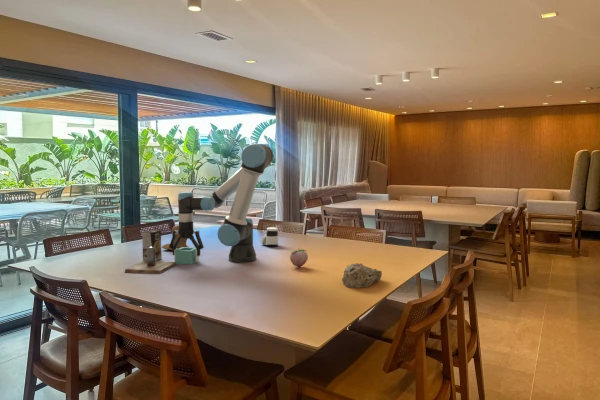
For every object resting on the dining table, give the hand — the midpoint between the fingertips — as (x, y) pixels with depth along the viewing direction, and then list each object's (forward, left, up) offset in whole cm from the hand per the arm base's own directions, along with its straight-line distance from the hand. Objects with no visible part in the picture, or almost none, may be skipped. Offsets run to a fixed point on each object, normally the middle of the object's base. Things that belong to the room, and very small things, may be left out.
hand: (186, 261), depth 227 cm
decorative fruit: (-61, +4, 0) cm, 61 cm away
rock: (-93, +28, -1) cm, 97 cm away
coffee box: (+20, -1, 0) cm, 20 cm away
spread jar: (-35, -51, 0) cm, 62 cm away
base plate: (+12, +16, 0) cm, 20 cm away
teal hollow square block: (0, 0, 0) cm, 0 cm away
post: (+12, +16, 0) cm, 20 cm away
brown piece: (+18, -30, 0) cm, 35 cm away
